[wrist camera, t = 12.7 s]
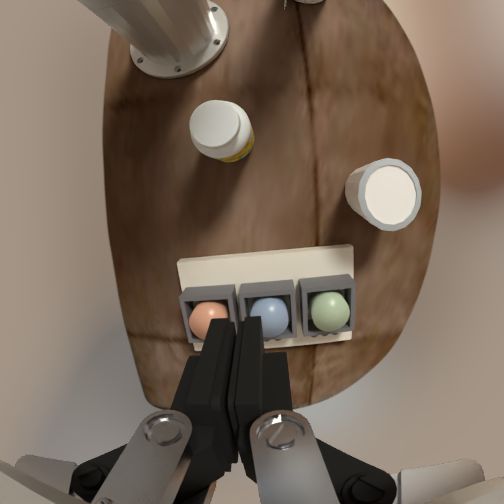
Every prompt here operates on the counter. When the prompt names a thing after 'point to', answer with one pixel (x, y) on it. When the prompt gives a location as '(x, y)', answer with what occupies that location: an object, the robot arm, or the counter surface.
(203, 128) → the supplement bottle
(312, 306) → the button three
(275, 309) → the button two
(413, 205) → the white tapered cup
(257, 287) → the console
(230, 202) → the counter surface
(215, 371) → the robot arm
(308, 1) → the paper towel roll
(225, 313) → the button one
